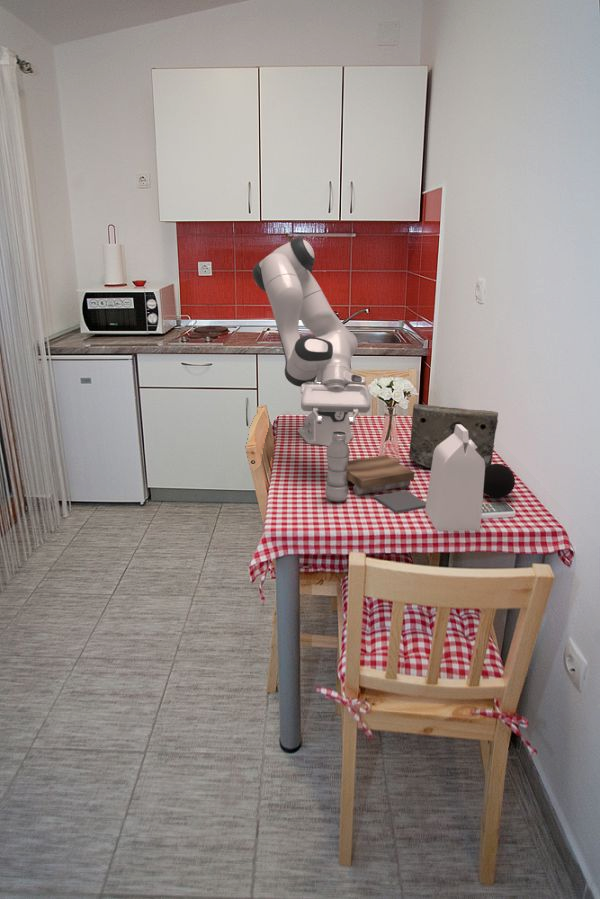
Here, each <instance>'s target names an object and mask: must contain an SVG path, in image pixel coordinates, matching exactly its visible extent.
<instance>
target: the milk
mask: <svg viewBox="0 0 600 899" xmlns="http://www.w3.org/2000/svg"><path fill="white" fill-rule="evenodd" d="M476 448H477V446H476V445H475V444H474V442H473V441H472V440H471V439H470V440H469V437H468V431H467V430H466V429H465V428H464V427H463V426H462V425H461V424H456V426H455V430H454V433H453V434H452V435H451V436H449V437H448V438H447V439H445V440H444V441H443V442H441V443H440V444H439V445H438V446H437V447H436V448H435V450H434V453H433V460H432V467H431V468H430V474H429V475H430V476H429V482H428V487H427V495H426V501H425V502H426V507H425V508H424V513H425V514H426V515H427V517H428V519H429V521H430V522H431V524H432V525H433V527H434V529H435V531H436V532H445V531H446V532H448V531H449V532H453V531H454V532H456V531H457V532H461V531H463V532H464V531H465V532H467V531H471V532H472V531H481V524H482V523H481V522H482V514H483V513H482V511H483V502H484V501H483V500H484V499H483V498H484V492H483V488H484V475H485V462H484V459H483V458H482V457H481V456H480V455H479V454H478V453H477V452H476V450H475V449H476Z"/></svg>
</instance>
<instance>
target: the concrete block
mask: <svg viewBox="0 0 600 899" xmlns="http://www.w3.org/2000/svg"><path fill="white" fill-rule="evenodd" d="M498 417H499V412H497V411H493V410H484V409H483V410H482V409H467V408H461V407H447V406H439V405H431V404H419V403H417V404H416V403H415V404H413V408H412V418H411V427H410V428H411V430H410V443H409V452H408V454H409V455H408V456H409V458H410V460H412V461H414V462H415V463H417V464H419V465H421V466H423V467H426V468H427V469H428V468H429V469H431V467H432V460H433V453H434V450H435V448H436V447H437V446H438V445H439V444H440V443H441V442H443V441H444V440H445V439H447V438H448V437H449V436H451V435H452V434H453V433H454V430H455V426H456V424H461V425H462V426H463V427H464V428H465V429H466V430H467V431H468V437H469V440H470V439H471V440H472V441H473V442H474V444H475V445H476V446H477V448H476V449H475V450H476V452H477V453H478V454H479V455H480V456H481V457H482V458H483V459H484V462H485V468H486V467H487V466H489V465H492V462H493V456H494V448H495V438H496V431H497V428H498V420H499V419H498Z"/></svg>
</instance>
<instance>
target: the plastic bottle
mask: <svg viewBox="0 0 600 899" xmlns="http://www.w3.org/2000/svg"><path fill="white" fill-rule="evenodd" d="M332 440H333V441H332V442H331V443H330V445H329V446H327V448H326V461H327V478H326V485H325V490H324V493H325V498H327V500H329V501H330V502H335V503H336V502H343V501H345V500H346V499H347V498H348V495H349V485H348V482H347V467H348V461H349V459H350V453H351V452H350V450H351V449H350V447H349V445H348V443H347V444H346V442H345V440H346V433H345V432H343V431H335V432H333V433H332Z"/></svg>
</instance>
